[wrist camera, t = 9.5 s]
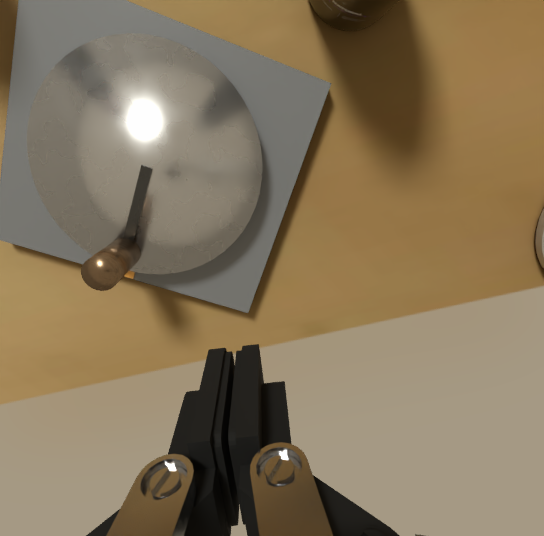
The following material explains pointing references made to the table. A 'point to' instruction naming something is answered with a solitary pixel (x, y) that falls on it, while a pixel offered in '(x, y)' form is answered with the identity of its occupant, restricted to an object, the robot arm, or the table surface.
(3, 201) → the base plate
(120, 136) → the dial
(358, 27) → the supplement bottle
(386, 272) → the table surface
